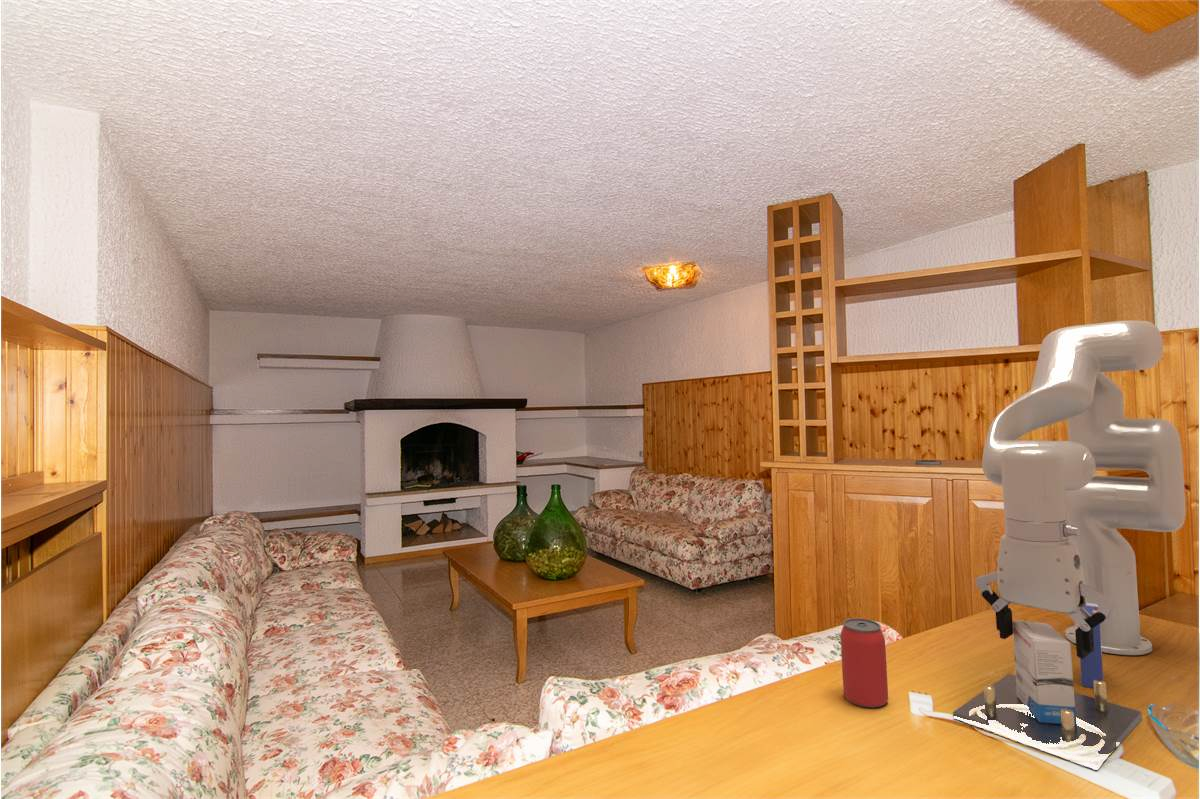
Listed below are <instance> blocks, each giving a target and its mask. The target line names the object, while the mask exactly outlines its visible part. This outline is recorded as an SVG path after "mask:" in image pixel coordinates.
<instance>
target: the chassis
mask: <svg viewBox="0 0 1200 799" xmlns="http://www.w3.org/2000/svg"><path fill="white" fill-rule="evenodd" d="M1093 693H1094V697H1091V696H1089V695H1084V694H1081V693H1078V692H1075V691H1074V700H1075V711H1076V717H1077V718H1079V719H1081V720H1083V721H1085V722H1087V723H1089V724H1091V725H1094V726H1095V727H1097V728H1099V729H1100V730H1101V731H1102V732H1103V733H1105V734H1106V736H1104V737H1103V736H1102V737H1101V736H1100V735H1099V734H1096V733H1093V732H1089V731H1086V730H1085V729H1083V728H1081V727H1079V726H1077V725H1074V712H1073V711H1072V710H1069V709H1061V724H1055V723H1042V722H1039V721H1038V720H1037V719H1036V718H1033V717H1031V714H1029V716H1028V712H1027V715H1025V713H1023V712H1019V711H1016V710H1014V709H1011V708H1007V707H1006V708H1002V707H1001V708H996V705H999V704H1023V703H1022V701H1021V700H1020V699H1019V698H1018V697H1017V688H1016V674H1011V673H1008V674H1006V675H1005V676H1003V677H1001V679H999V680H997V681H996V682H994V683H993V684H991V685H990V684H984V685H983V690H982V691H981V692H980V693H979V694H977V695H976V696H974V697H973V698H971V699H970V700H968V701H967V702H966V703H963V705H961V706H959V707H958V708H957V709H955V710H954V711H953V712H952V717H953V716H957V717H960V718H963V719H967V720H972V721H976V722H979V723H981V724H986V725H989V723H988V720H996V721H998V722H999V723H1001V724H1002V725H1005V727H1008V728H1009V729H1011V730H1013V729H1014V731H1015V730H1017V732H1018V733H1019V732H1020V733H1021V731H1022V732H1025V733H1026V735H1027V736H1028V737H1031V738H1032V740H1036V741H1041V742H1042V743H1046V744H1047V743H1048V744H1049V742H1050V743H1053V744H1054V743H1056V744H1057V743H1058V742H1060V740H1061V739H1060V737H1062V740H1063V741H1066V742H1070V741H1074V740H1076V739H1078V738H1079V736H1080V735H1081V734H1085V735H1086V740H1085V741H1084V742H1083V743H1082V744H1081V745H1083V746H1094V745H1096V744H1098V743H1099V742H1100V740H1101V739H1103V740H1104V741H1105V744H1104V746H1103V747H1102V748H1101V750H1100V751H1098V753H1099V754H1109V753H1111V752H1112V751H1114V750H1115V748H1116V742H1120V743H1121V744H1122V743H1123V741H1125V739H1126V738H1127V737H1128V736H1129V735H1130V733H1131V732H1132V731H1133V730H1134V729H1135V728H1136V726H1137V725H1138V724H1139V723H1140V722H1141V721H1142V720H1143V714H1142V713H1143V712H1142V710H1141V711H1140V710H1137V709H1133V708H1130V707H1126V706H1123V705H1120V704H1115V703H1113V702H1109V701H1108V697H1107V694H1108V693H1107V683H1106V681H1105V680H1103V681H1102V680H1094V688H1093ZM983 705H985V709H981V710H980V711H981V712H982V713H984V714H985V715H986V716H987V720H985V719H983V718H981V717H979V716H978V715H977V714H974V715H971V716H969V711H970V710H971V709H973V708H976V707H979V706H983ZM1032 716H1033V714H1032ZM1020 723H1021V724H1022V723H1024V724H1028V726H1026V727H1025V728H1024V727H1023V726H1021V725H1020ZM1022 727H1023V730H1022V729H1021V728H1022ZM1050 740H1051V741H1050ZM1058 744H1059V743H1058ZM1116 749H1117V748H1116ZM1115 751H1116V750H1115ZM1115 751H1114V752H1115Z"/></svg>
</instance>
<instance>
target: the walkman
mask: <svg viewBox="0 0 1200 799" xmlns="http://www.w3.org/2000/svg"><path fill="white" fill-rule="evenodd" d="M1084 609H1085V610H1086V611H1087V612H1088V613H1089V614H1090V615H1091V616H1092V615H1093V614H1095V613H1096V612H1097V610H1098V605H1097V604H1093V603H1088V602H1087V604H1086V606H1084ZM1093 637H1094V651H1093V652H1092V653H1091V652H1090V654H1089V655H1088V656H1086V657H1085V658H1084V659H1082V658H1079V660H1080V677H1081V679H1080V680H1081V686H1082V687H1086V688H1087V687H1088V688H1092V689H1094V680H1102V681H1104V674H1103V673H1104V671H1103V670H1104V669H1103V652H1102V648H1101V636H1100V624H1098V625H1097V626H1095V627H1094V628H1093Z"/></svg>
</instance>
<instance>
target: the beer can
mask: <svg viewBox="0 0 1200 799" xmlns="http://www.w3.org/2000/svg"><path fill="white" fill-rule="evenodd" d="M842 623H843V624H842V625H843V627H842V629H841V632H840V651H841V654H840V656H841V674H842V688H843V690H842V691H843V695H844V698H845V699H847V701H849V702H850V703H852V704H854V705H857V706H859V707H863V708H880V707H883V706H884V705H886V704H887V703H888V700H889V691H888V690H889V686H888V684H889V683H888V670H887V668H888V667H887V650H886V639H885V635H884V633H883V631H882V629H881V628H882V626H881V624H880V623H879V622H877V621H875V620H872V619H867V618H858V617H857V618H848V619H845V620H844V621H843V622H842Z"/></svg>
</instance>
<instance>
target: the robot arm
mask: <svg viewBox="0 0 1200 799" xmlns="http://www.w3.org/2000/svg"><path fill="white" fill-rule="evenodd" d="M1163 350H1164V341H1163V336H1162V334H1161V331H1160V330H1159V328H1158V327H1157V325H1155V324H1154V323H1153V322H1151V321H1149V320H1116V321H1115V320H1114V321H1107V322H1099V323H1090V324H1088V323H1087V324H1080V325H1072V326H1066V327H1061V328H1057V329H1056V330H1053V331H1051V332H1050V333H1048V334H1047V335H1046V336H1045V337H1044V338H1043V340H1042V342H1041V345H1040V350H1039V352H1038V357H1037V361H1036V365H1035V366H1036V367H1035V371H1034V375H1033V379H1032V383H1031V388H1030V390H1029V391H1028V392H1026V393H1023V394H1022V395H1021V396H1019V397H1017V399H1015V400H1013V401H1012V402H1011V403H1010V404H1008V405H1007V406H1006V407H1005V408H1003V409H1002V410H1001V411H1000V412H998V414H997V415H996V416H995V417H994V418H993V420H992V422H991V424H990V426H989V429H988V432H987V436H986V439H985V444H984V447H983V451H982V457H981V458H982V459H981V463H982V465H981V467H982V472H983V474H984V476H985V478H986V479H987V480H988V481H989V482H990V483H992V484H994V485H997V486H999V487H1002V499H1003V512H1004V513H1003V514H1004V529H1005V534H1003V535H1001V537H1000V542H999V548H998V557H997V571H994V572H991V573H990V572H989V573H986V574H983V575H979V576H977V577H976V578H974V583H975V585H976V586H977V588H978V590H979V591H980V592H981V597H982V598H983V599H984V600H985V601H986V602H987V603H988V604H989V605H990V606H991V610H992V611H994V612H995V624H996V626H995V627H996V630H997V631H999V638H1000V639H1002V640H1006V639H1008V638H1009V637H1011V636H1012V635H1014V634H1013V611H1012V610H1011V608H1010V607H1009V605H1010V604H1015V605H1019V606H1024V607H1029V608H1033V609H1038V610H1043V611H1048V612H1052V613H1059V614H1064V615H1068V616H1069V617H1070V619H1071V620H1072V621H1073V622H1074V625H1073V626H1069V627H1067V628H1066V629H1065V633H1064V634H1065V639H1067V640H1068V641H1069V642H1070V643H1074V644H1075V646H1076V647H1075V649H1076V656H1077V657H1078V658H1079V659H1080V658H1082V659H1084V658H1085V657H1086V656H1088V655H1089V654H1090V652H1091V653H1092V652H1093V651H1094V637H1093V628H1094V627H1095V626H1097V625H1098V624H1100V636H1101V648H1102V653H1105V654H1113V655H1119V656H1120V655H1122V656H1143V655H1147V654H1150V653H1151V652H1152V651H1153V643H1152V641H1150V640H1149V639H1148V638H1146V637H1145V636H1141V626H1140V625H1141V624H1140V610H1139V595H1138V593H1139V592H1138V581H1137V580H1138V579H1137V577H1138V576H1137V561H1136V559H1137V558H1136V554H1135V550H1134V549H1133V547H1132V546H1131V544H1130V542H1128V540H1127V539H1126V538H1125V537H1123V535H1122V534H1121V533H1120V532H1119V531H1118V530H1117V529H1125V530H1126V529H1128V530H1137V531H1147V532H1148V531H1149V532H1150V531H1151V532H1159V533H1161V532H1162V533H1169V532H1171V533H1172V532H1177V531H1179V530H1180V529H1181V528H1182V527H1183V525H1184V524H1185V521H1186V512H1187V511H1186V509H1187V507H1186V492H1185V477H1184V476H1185V475H1184V462H1183V460H1184V459H1183V449H1182V442H1181V438H1180V434H1179V431H1178V429H1177V427H1176V426H1175V425H1174V424H1173V423H1172V422H1170V421H1168V420H1165V419H1163V418H1155V417H1153V418H1152V417H1151V418H1150V417H1148V418H1147V417H1146V418H1137V417H1136V418H1135V417H1134V418H1127V417H1126V415H1125V408H1124V407H1125V406H1124V394H1123V391H1122V389H1121V388H1120V386H1118V385H1117V384H1116V382H1114V380H1113V379H1111V378H1110V377H1109V376H1107V375H1106V374H1105V373H1113V372H1126V371H1143V370H1144V371H1145V370H1148V369H1149V370H1150V369H1152V368H1154V367H1156V365H1157V364H1159V361H1160V360H1161V358H1162V355H1163ZM1065 420H1067V436H1068V437H1067V439H1068V440H1023V439H1022V440H1019V439H1020V438H1022V437H1023V436H1025V435H1026V434H1029V433H1031V432H1033V431H1036V430H1039V429H1041V428H1044V427H1047V426H1050V425H1055V424H1058V423H1061V422H1064V421H1065ZM1096 469H1100V470H1101V469H1104V470H1130V471H1143V472H1145V473H1146V474H1147V475H1148V476H1149V477H1134V476H1133V477H1131V476H1129V477H1128V476H1127V477H1126V476H1117V475H1113V476H1112V475H1110V476H1109V475H1095V474H1096ZM995 582H997V592H998V594H997V593H996V592H995V591H994V590H993V589H992V588H991V585H990V583H995ZM1087 602H1088V603H1093V604H1097V605H1098V610H1097V612H1096V613H1095V614H1093V615H1092V616H1091V615H1090V614H1089V613H1088V612H1087V611H1086V610H1085V609H1084V606H1086V604H1087Z"/></svg>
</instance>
